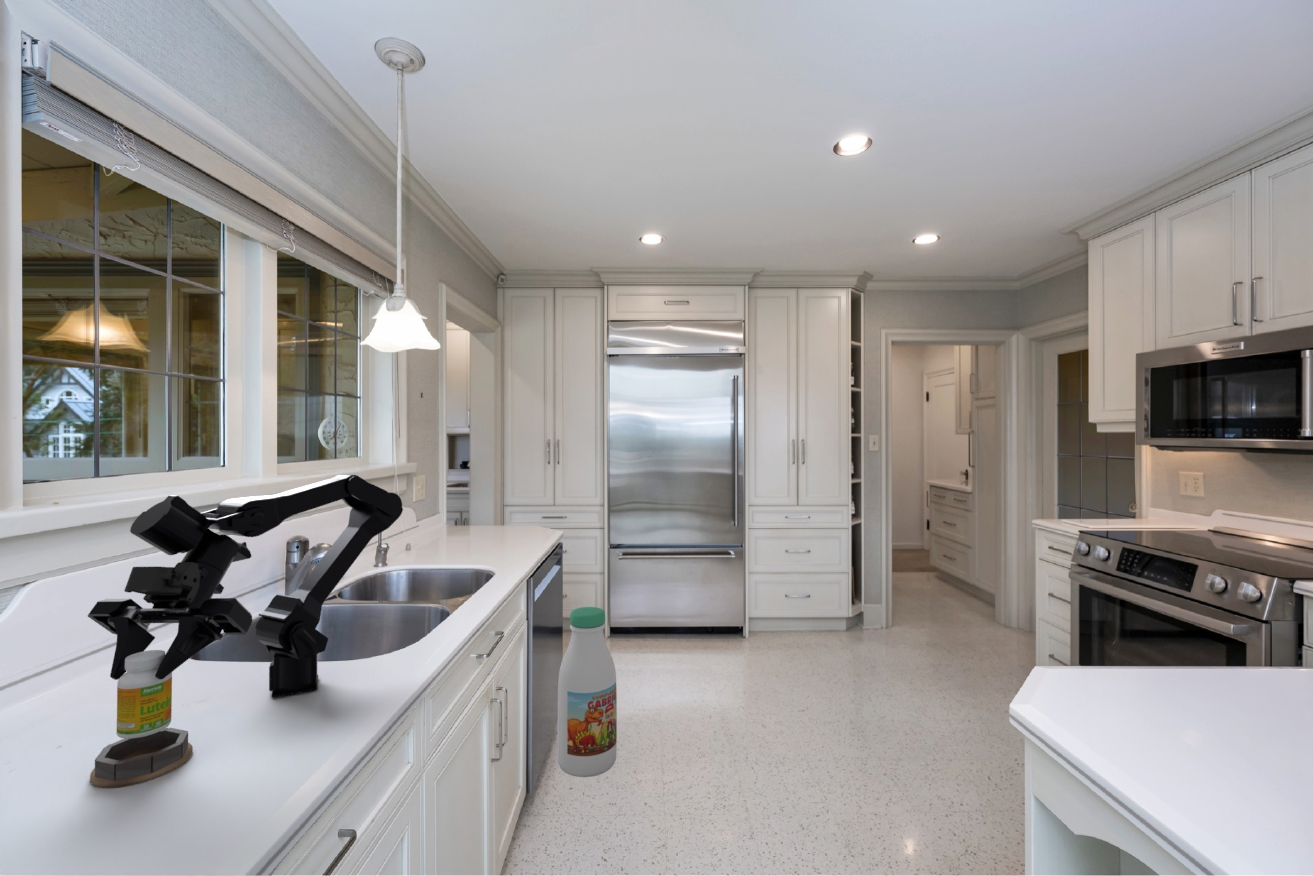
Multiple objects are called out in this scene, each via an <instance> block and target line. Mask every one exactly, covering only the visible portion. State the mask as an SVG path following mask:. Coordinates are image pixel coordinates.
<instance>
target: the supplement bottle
mask: <svg viewBox="0 0 1313 876" xmlns="http://www.w3.org/2000/svg"><path fill="white" fill-rule="evenodd" d="M165 655H166V651H165V650H162V649H152V650H151V649H150V650H144V651H143V652H139V653H135V654H132V655H130V656H128V657H126V658H125V670H126V672H125V673H124V674H123V675H122V676H121V677H120V678H119V679H118V680H117V687H116V695H117V696H116V735H117V737H119V738H121V739H124V738H125V739H132V738H140V737H145V736H148V735H152V734H155V733H157V732H159V731H161V730H163V729H165V728H168V727H169V725H171V723H172V705H173V704H172V699H173V695H172V694H173V693H172V692H173V672H171V673H170V674H169V675H167V676H166V677H165V678H164V679H158V678H156V677H155V675H156V672H157V670H158V668H159V666H160V664H161V662H162V660H163V658H164V657H165Z"/></svg>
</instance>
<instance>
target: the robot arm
mask: <svg viewBox="0 0 1313 876" xmlns="http://www.w3.org/2000/svg"><path fill="white" fill-rule="evenodd" d="M340 500H342V502H343V503H344V504H346V505H347V506H349V508H351V510H350V511H349V517H348V518H349V519H348V524H347V526H346V527H345V528H344V530H343V531H342V532H341V534H340V535H339V536H338V537H337V539H336V540H335V541H334V543H333V544H332V545H331V546H330V548H329V549H328V550H327V551H326V552H325V553H324V555H323V556H322V557H321V559H320V560H319V561H318V563H317V564H316V565H315V566H314V568H313V569H312V570H311V571H310V572H309V573H308V575H307V576H306V577H305V579H304V580H303V581H302V583H301V584H300V585H299V586H298V588H297V589H296V590H294V591H293V592H292V593H290V594H287V595H283V594H280V593H279V594H278V593H277V594H276V595H275V596H274V597H273V598H272V599H271V601H270V602H269V604H268V605H267V607H266V608H265V609H264V610H263V611H261V612H260V613H259V614H258V616H259V617H260V618H259V619H258V620H257V622H256V624H255V627H254V628H255V637H256V638H257V639H256V640H258V641H259V642H260V644H263V646H264V648H265V650H266V652H267V653H274V655H273V660H272V661H271V662H270V663H269V668H268V669H269V670H268V685H269V686H268V691H269V692H271V699H272V698H273V699H275V698H280V697H287V696H292V695H297V694H303V693H309V692H313V691H317V690H318V686H319V674H318V654H320V653H323V652H325V650H326V648H327V646H328V645H327V644H328V641H329V637H328V636H326V635H325V634H323V633H321V632H320V631H319V630H317V627H318V625H319V623H320V621H321V615H322V608H323V604H324V602H325V601H326V600H327V599H328V597H329V596H330V595H331V594H332V592H333V591H334V590H335V588H336V587H337V585H338V584H339V583H340V582H341V580H342V579H343V578H344V576H345V575H346V574H347V572H348V571H349V570H350V569H351V567H352V566H353V564H354V563H355V562H356V560H357V559H358V558H359V556H360V555H361V554H362V553H363V551H364V549H366V547H367V545H368V544H369V543H370V541H371V540H372V539H373V538H374V537H376V536H377V535H380V534H381V533H383V532H384V531H386V530H388V529H389V528H391V526H392V525H393V524H394V523H395V522H397V520H398V519H399V518H400V517H401V516H402V514H403V511H404V508H403V501H402V499H401V497H400V496H399V495H398V494H397V493H395V492H389V491H387V490H385V489H383V488H381V487H379V486H377V485H374V484H372V483H370V482H369V481H366V480H365V479H363V478H362V477H361V476H359V475H357V474H347V473H345V474H344V473H343V474H340V473H339V474H337V475H336V476H333V477H330V478H327V479H324V480H320V481H316V482H314V483H310V484H306V485H303V486H300V487H296V488H293V489H292V488H291V489H289V490H286V491H282V492H279V493H276V494H267V495H254V496H253V495H252V496H243V497H234V498H228V499H226V500H223V501H222V502H219V504H218V506H217V508H213V509H209V510H207V511H203V512H200V511H199V510H197V509H195V508H194V507H193V506H192V505H189V503H188V502H187V501H186V500H185V499H184V498H182V497H180V496H179V495H171V494H169V495H168V496H166V498H165V499H164V500H163V501H160V502H158V503H156V504H154V505H152V506H151V507H149V508H148V509H147V510H146V511H141V513H140V514H139V515H138V516H137V517H136V518H135V519H134V520H133V522H132V524H131V526H130V530H129V532H130V533H131V534H132V535H134V536H135V537H136V538H139V539H140V540H142V541H144V542H145V543H147V544H148V545H150V546H152V547H154V548H155V549H157V550H159V551H161V552H162V553H164V554H166V555H167V556H175V555H177V554H185V553H186V554H185V555H184V557H183V558H182V560H181V561H180V562H177V563H176V564H175V566H174V567H173V566H133V567H132V569H131V571H130V574H129V577H128V578H127V582H126V585H125V587H124V590H123V591H124V592H125V593H137V594H142V595H144V596H143V599H142V600H144V601H145V602H146V603H147V604H152V608H143V607H142V606H141V605H140V604H139V603H138V602H136V601H134V600H133V599H132V598H105V599H102V600H99V601H97V602H96V603H95V605H94V606H93V608H92V609H91V610H90V611H89V613H88V615H87V617H88V618H89V619H91V620H92V621H94V622H95V623H97V624H98V625H99V626H101V627H102V628H103V629H105V630H106V631H108V632H109V633H111V634H113V635H116V644H115V645H116V646H115V650H114V655H113V659H112V665H111V670H110V673H109V674H110V675H109V676H110V678H111V679H113V680H115V681H118V680H119V678H120V677H121V676H122V675H124V674H125V673H127V671H126V670H125V658H126V657H128V656H130V655H132V654H135V653H139V652H143V651H146V650H147V648H148V647H149V646H150V645H151V644H152V643H153V641H154V640H155V639H156V637H155V636H154V635H153V634H152V633H150V632H149V631H148V630H149V626H150V625H151V624H178V625H177V626H178V628H177V634H176V636H175V637H174V639H173V641H172V643H170V644H171V645H170V646H169V647H168V649H167V651H166V652H165V657H164V658H163V660H162V662H161V664H160V666H159V668H158V670H157V672H156V675H155V677H156V678H158V679H164V678H165V677H166V676H167V675H169V674H170V673H171V672H172V673H173V672H174V671H175V670H176V669H177V668H179V667H180V666H181V665H183V664H184V663H185V662H187V661H188V660H190V659H191V658H192V657H193V656H194V655H196V654H197V653H199V652H200V651H202V650H203V649H205V648H206V647H208V646H209V645H210V644H212V643H213V642H215V641H220V640H222V639H223V637H224V634H225V635H227V636H228V635H230V636H231V635H232V636H233V635H246V634H248V631H249V629H250V628H251V625H252V623H253V615H252V613H251V612H250V611H249V610H248V609H247V608H246V607H245V606H244V605H243V604H242V603H241V602H240V601H239V600H238V599H237V598H235V597H228V598H227V597H224V598H223V597H220V598H217V597H213V595H222V593H223V591H224V590H225V587H224V586H223V585H222V584H221V582H222V580H223V579H224V577H225V575H226V573H227V571H228V570H229V568H230V566H231V565H232V563H235V562H240V561H244V560H248V559H251V558H252V553H251V551H250V549H249V548H248V545H247V542H245V541H243V542H237V541H236V540H235V539H233V538H231V537H230V536H237V537H246V538H254V537H255V538H256V537H259V536H262V535H263V534H266V533H267V532H269V531H271V530H273V529H275V528H277V527H278V526H280V525H281V524H282V523H283V522H284V521H285V520H287V519H288V518H290V517H293V516H295V515H299V514H301V513H304V512H305V513H306V512H308V511H310V510H313V509H316V508H320V507H322V506H325V505H329V504H331V503H334V502H338V501H340ZM213 530H218V531H219V532H220V533H222V534H218V533H216V532H214V531H213ZM228 535H229V536H228ZM222 632H223V633H224V634H222Z"/></svg>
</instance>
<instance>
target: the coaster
mask: <svg viewBox="0 0 1313 876" xmlns="http://www.w3.org/2000/svg"><path fill="white" fill-rule="evenodd" d="M193 748H194V747H193V745H192V744H191V742H189V731H188V730H184V729H178V728H174V727H166V728H165V729H163V730H161V731H159V732H157V733H155V734H152V735H148V736H145V737H140V738H132V739H125V738H121V739H120V740H118V741H115V742H113V743H111V744H108V745H106V746H105V747H103V748H102V749H101V751H100V753H99V754H98V755H97V757H96V758H94V768H93V769H92V771H91V772H90V774H89V783H90V784H91V785H93V786H94V787H97V788H103V789H112V788H114V789H115V788H123V787H124V788H125V787H128V786H134V785H137V784H142V783H145V782H147V781H151V780H154V779H157V778H159V777H162V776H165V775H167V774H169V773H171V772H172V771H175V770H177V769H178V768H180V767H182V766H183V765H184V764H186V763H187V761H189V760H190V759H191V758H192V756H193V753H194V752H193V751H194V750H193Z"/></svg>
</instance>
